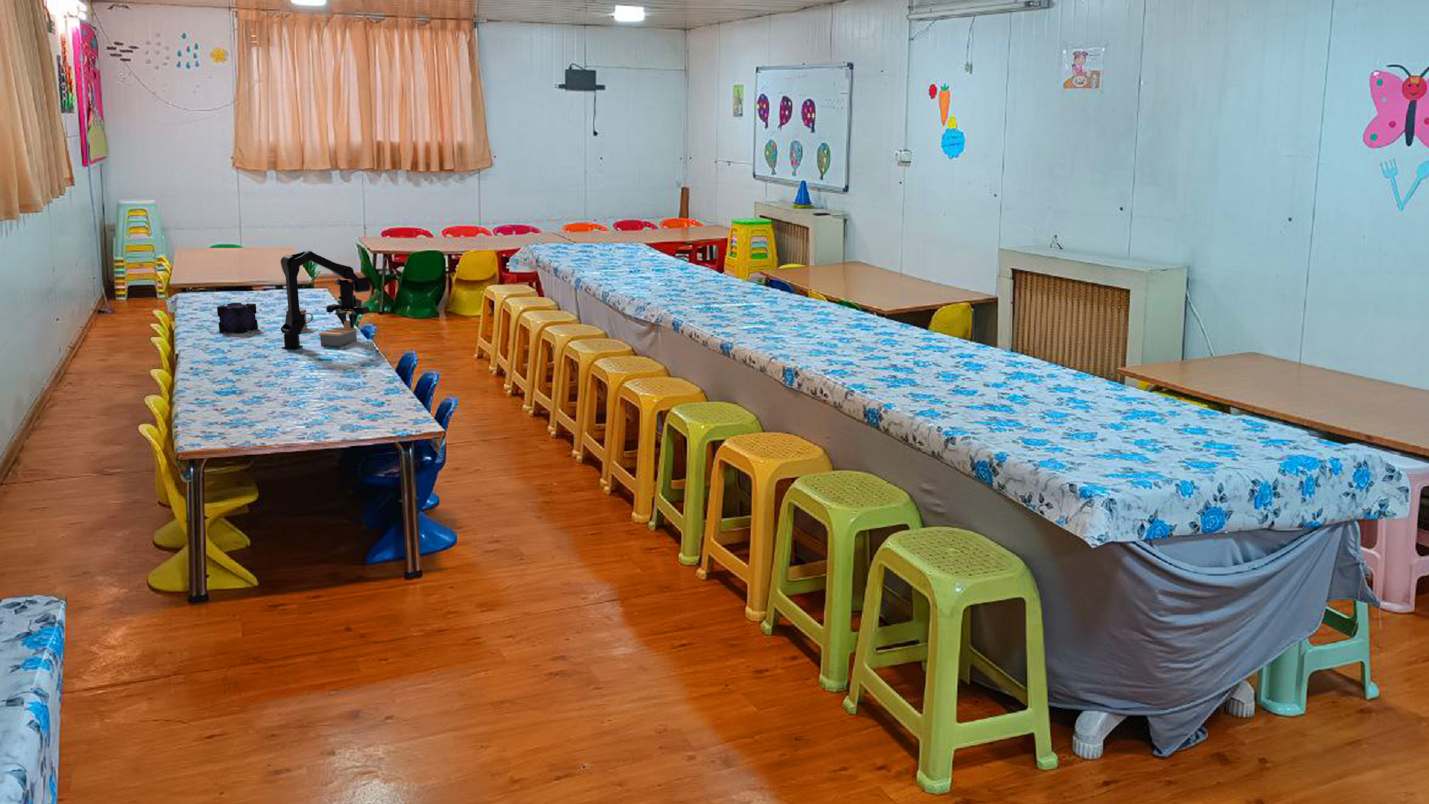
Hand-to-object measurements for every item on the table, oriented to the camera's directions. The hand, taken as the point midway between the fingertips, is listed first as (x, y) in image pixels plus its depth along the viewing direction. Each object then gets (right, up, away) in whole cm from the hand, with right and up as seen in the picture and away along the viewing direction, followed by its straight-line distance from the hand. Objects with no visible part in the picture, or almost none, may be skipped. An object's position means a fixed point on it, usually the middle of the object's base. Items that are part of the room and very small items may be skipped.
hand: (349, 328), depth 515 cm
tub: (-2, -7, -7) cm, 10 cm away
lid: (-2, -2, -7) cm, 7 cm away
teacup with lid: (-31, +1, +25) cm, 40 cm away
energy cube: (-57, 0, +19) cm, 60 cm away
